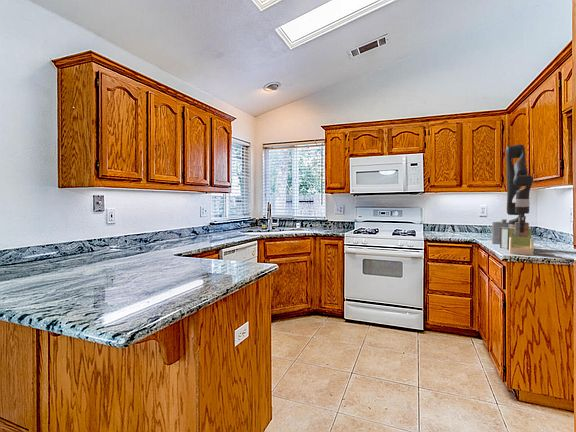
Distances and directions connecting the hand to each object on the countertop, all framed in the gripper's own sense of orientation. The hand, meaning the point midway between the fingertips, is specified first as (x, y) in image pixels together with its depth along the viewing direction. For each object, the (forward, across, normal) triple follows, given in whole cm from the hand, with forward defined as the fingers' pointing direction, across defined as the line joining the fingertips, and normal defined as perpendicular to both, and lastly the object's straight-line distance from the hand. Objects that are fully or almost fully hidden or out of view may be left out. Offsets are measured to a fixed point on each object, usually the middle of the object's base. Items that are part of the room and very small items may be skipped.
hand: (521, 232), depth 215 cm
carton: (+14, 0, 0) cm, 14 cm away
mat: (+14, 0, +13) cm, 19 cm away
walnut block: (+3, 0, 0) cm, 3 cm away
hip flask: (+15, -49, -8) cm, 52 cm away
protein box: (+15, -20, -2) cm, 25 cm away
